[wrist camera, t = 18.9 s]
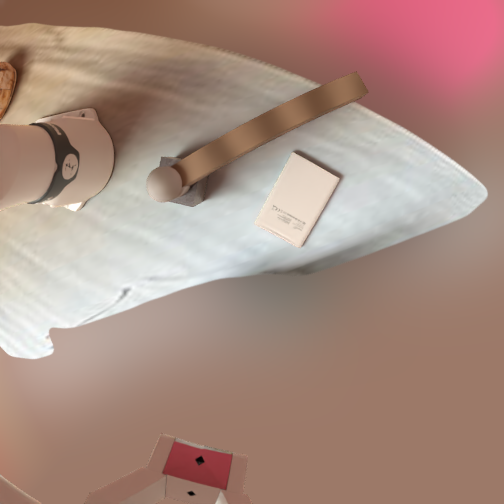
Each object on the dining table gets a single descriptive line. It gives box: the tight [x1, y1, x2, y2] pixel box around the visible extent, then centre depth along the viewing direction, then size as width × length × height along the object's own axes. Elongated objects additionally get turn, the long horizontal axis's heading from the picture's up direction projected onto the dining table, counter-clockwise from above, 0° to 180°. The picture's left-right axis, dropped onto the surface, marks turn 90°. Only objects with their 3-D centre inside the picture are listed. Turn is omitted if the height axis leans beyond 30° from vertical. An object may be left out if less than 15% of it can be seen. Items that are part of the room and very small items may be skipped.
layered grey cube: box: [159, 157, 209, 207], centre depth 44 cm, size 6×6×6 cm
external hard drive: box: [254, 152, 340, 248], centre depth 47 cm, size 2×8×12 cm
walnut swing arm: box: [146, 72, 368, 202], centre depth 36 cm, size 30×4×5 cm, turn 118°
